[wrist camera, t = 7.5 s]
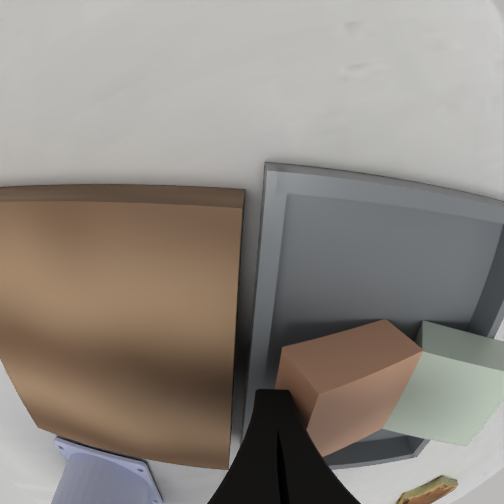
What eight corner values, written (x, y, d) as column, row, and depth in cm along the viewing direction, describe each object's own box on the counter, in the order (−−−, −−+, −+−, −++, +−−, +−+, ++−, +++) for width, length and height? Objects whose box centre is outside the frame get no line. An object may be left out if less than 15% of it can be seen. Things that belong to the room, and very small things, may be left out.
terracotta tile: (355, 397, 14) (382, 427, 12) (266, 429, 12) (291, 469, 10) (385, 318, 12) (423, 350, 10) (282, 346, 11) (318, 394, 9)
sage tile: (380, 428, 12) (388, 395, 14) (466, 446, 10) (465, 414, 12) (421, 351, 10) (422, 320, 12) (519, 374, 9) (509, 343, 11)
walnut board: (230, 435, 16) (228, 469, 14) (52, 400, 16) (38, 427, 14) (245, 189, 11) (242, 208, 9) (-11, 187, 11) (-46, 203, 8)
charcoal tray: (408, 434, 17) (416, 457, 15) (240, 444, 17) (239, 470, 15) (510, 203, 11) (537, 216, 9) (265, 162, 10) (266, 170, 9)
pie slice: (382, 516, 26) (384, 527, 25) (350, 512, 24) (352, 525, 23) (456, 477, 23) (461, 488, 22) (436, 469, 21) (441, 483, 20)
